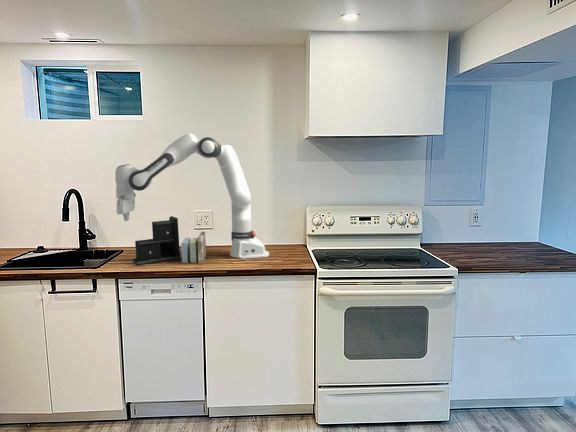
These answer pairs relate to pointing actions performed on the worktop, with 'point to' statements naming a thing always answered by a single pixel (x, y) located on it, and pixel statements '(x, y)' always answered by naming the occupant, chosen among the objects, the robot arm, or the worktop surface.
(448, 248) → the worktop surface
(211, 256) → the worktop surface
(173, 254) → the black stepped block
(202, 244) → the end board
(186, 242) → the book
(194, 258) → the book
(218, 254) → the worktop surface
